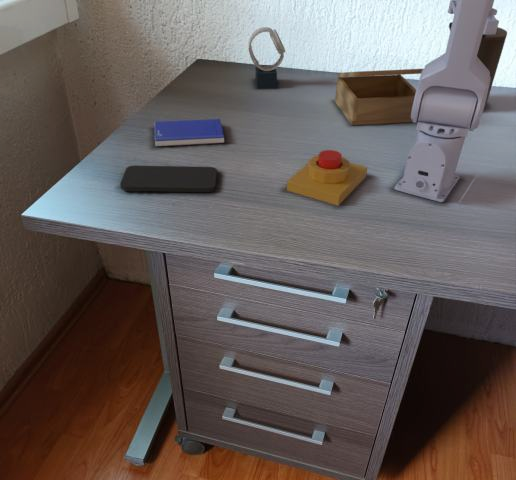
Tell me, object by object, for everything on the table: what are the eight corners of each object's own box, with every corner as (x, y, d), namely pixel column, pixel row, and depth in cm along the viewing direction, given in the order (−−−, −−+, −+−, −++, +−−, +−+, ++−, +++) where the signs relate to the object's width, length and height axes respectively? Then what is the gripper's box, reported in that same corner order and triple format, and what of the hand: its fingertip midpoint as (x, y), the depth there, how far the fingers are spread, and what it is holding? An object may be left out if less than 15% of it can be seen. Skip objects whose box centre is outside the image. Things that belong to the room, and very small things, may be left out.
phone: (214, 188, 82) (118, 186, 82) (214, 193, 83) (119, 191, 82) (217, 166, 87) (127, 165, 87) (217, 171, 88) (128, 169, 88)
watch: (285, 88, 117) (287, 32, 109) (249, 88, 116) (248, 32, 108) (282, 79, 121) (284, 24, 113) (247, 80, 120) (247, 25, 112)
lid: (429, 73, 97) (429, 68, 97) (358, 76, 96) (358, 71, 95) (400, 74, 109) (401, 70, 109) (337, 77, 108) (337, 72, 107)
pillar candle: (467, 115, 106) (491, 32, 96) (428, 101, 111) (447, 20, 101) (495, 104, 110) (520, 23, 100) (456, 91, 116) (477, 13, 105)
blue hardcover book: (154, 138, 93) (223, 135, 95) (154, 120, 99) (219, 117, 100) (155, 147, 94) (224, 143, 96) (155, 128, 100) (220, 125, 102)
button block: (338, 205, 80) (340, 184, 78) (286, 190, 84) (287, 169, 81) (366, 177, 87) (369, 156, 85) (317, 164, 90) (319, 144, 88)
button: (334, 172, 81) (335, 162, 80) (313, 167, 83) (314, 156, 81) (344, 163, 84) (345, 153, 82) (323, 158, 85) (324, 148, 84)
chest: (417, 121, 104) (423, 96, 100) (351, 125, 102) (354, 99, 99) (396, 98, 113) (400, 74, 109) (334, 101, 111) (337, 77, 108)
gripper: (527, -13, 81) (498, 81, 90) (484, -31, 91) (462, 55, 100) (484, -12, 80) (459, 83, 89) (445, -30, 90) (427, 57, 100)
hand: (458, 68), depth 95 cm, fingers closed
